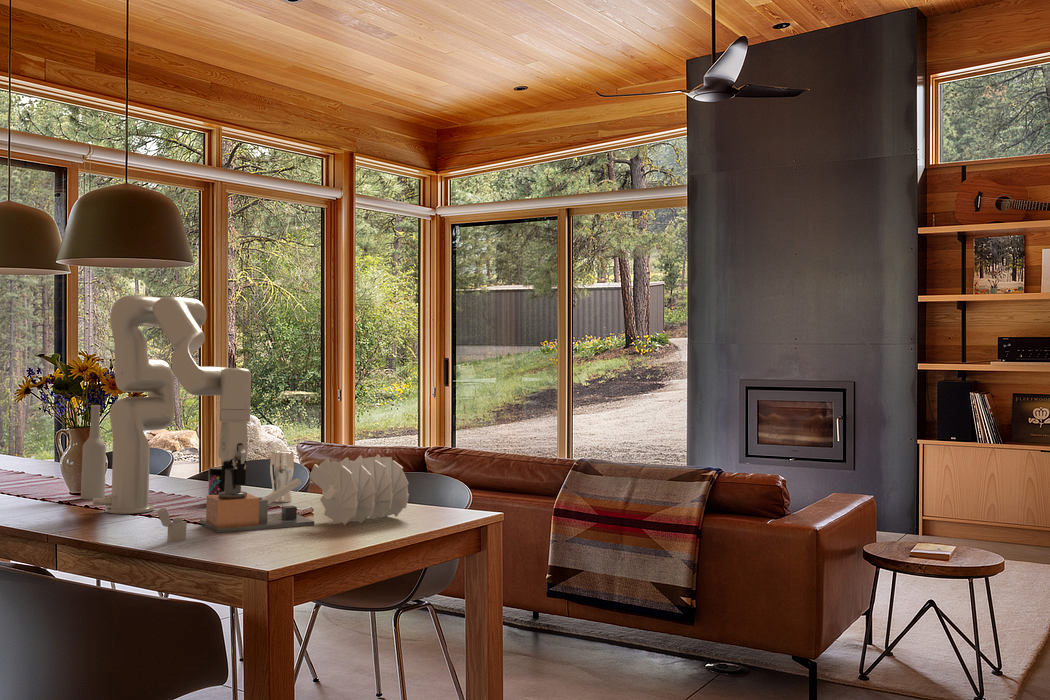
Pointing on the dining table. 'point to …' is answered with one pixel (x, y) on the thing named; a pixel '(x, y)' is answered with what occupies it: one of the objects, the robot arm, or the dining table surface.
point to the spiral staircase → (361, 488)
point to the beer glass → (281, 472)
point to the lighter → (173, 526)
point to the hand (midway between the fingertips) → (233, 482)
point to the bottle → (93, 460)
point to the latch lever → (283, 490)
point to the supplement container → (215, 481)
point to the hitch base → (262, 525)
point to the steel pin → (231, 488)
